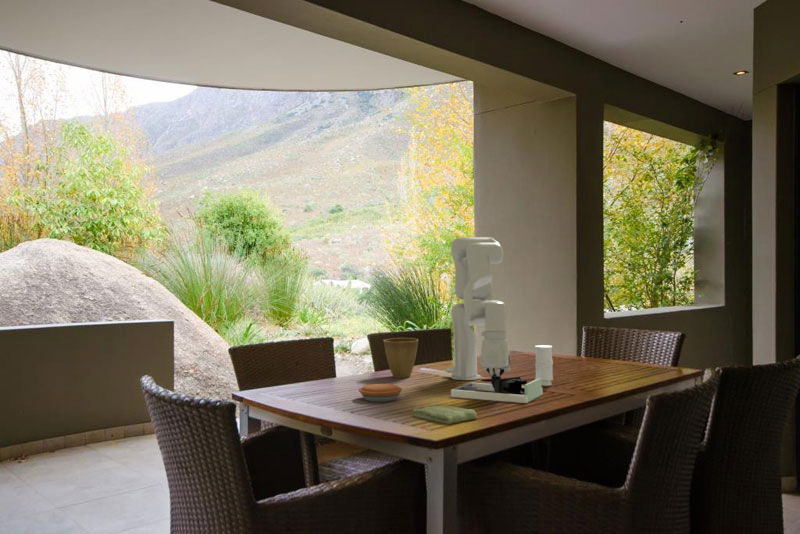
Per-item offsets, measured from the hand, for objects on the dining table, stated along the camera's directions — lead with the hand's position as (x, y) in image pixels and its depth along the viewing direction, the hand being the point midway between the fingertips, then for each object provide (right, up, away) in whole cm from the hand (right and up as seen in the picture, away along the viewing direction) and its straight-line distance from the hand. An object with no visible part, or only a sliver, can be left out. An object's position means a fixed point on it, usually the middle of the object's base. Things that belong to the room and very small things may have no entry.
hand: (496, 386), depth 242 cm
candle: (+22, -3, +23) cm, 32 cm away
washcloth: (-21, -4, -35) cm, 41 cm away
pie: (-41, -4, -3) cm, 42 cm away
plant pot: (-34, -4, +47) cm, 58 cm away
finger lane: (0, -3, 0) cm, 3 cm away
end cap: (+5, -3, -3) cm, 7 cm away
